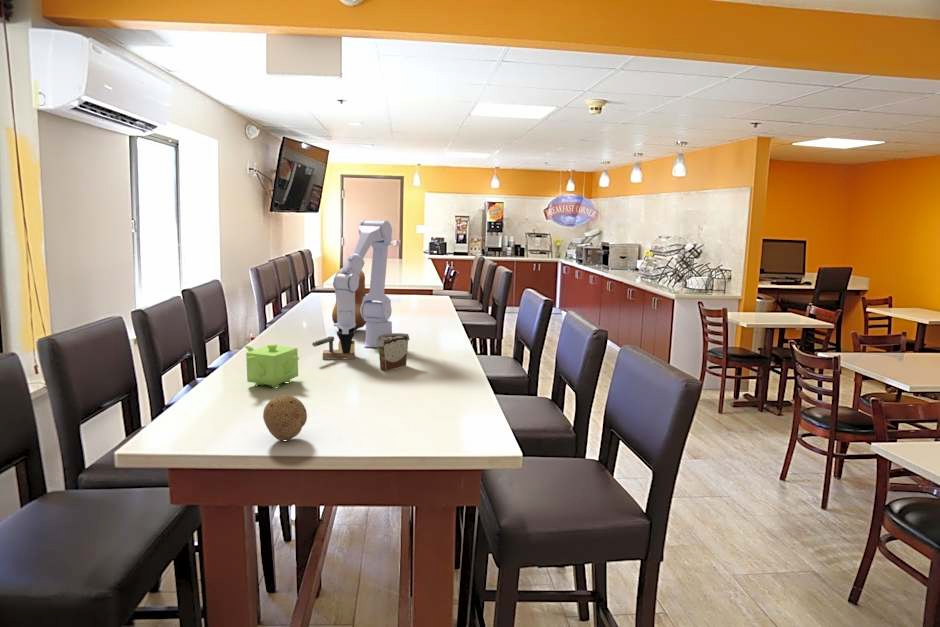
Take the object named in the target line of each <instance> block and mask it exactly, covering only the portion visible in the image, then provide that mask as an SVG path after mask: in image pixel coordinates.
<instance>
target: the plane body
mask: <svg viewBox="0 0 940 627" xmlns="http://www.w3.org/2000/svg"><path fill="white" fill-rule="evenodd" d="M355 351H356V350H355ZM355 351H354V353H349V354H343V353H338V349H334V341H331V342H328V349H324V350H323V352H322V358H327V359H326V360H332V359H331V358H355V359H356V354H355V353H356V352H355ZM322 358H321V359H322ZM328 358H330V359H328Z"/></svg>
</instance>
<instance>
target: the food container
mask: <svg viewBox="0 0 940 627" xmlns="http://www.w3.org/2000/svg"><path fill="white" fill-rule="evenodd" d="M409 341H410V335H409V333H402V332H401V333H399V332H397V333H395V332H394V333H393V332H392V333H390V334H383V335H380V336H378V338H377V342H376V345H378V347H377V348H378V355H379V357H378V358H379V366H380V367H379V368H380V371H382V372H387V373H388V372H390V371H393V370H397V369H400V368H404V367H407V359H408V347H409V346H408V345H409Z"/></svg>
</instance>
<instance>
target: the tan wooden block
mask: <svg viewBox="0 0 940 627" xmlns="http://www.w3.org/2000/svg"><path fill="white" fill-rule="evenodd" d="M355 341H356V340H352V342H351V349H350V353H354V351H356V350H355V349H356V348H355V344H356V342H355ZM337 344H338V346H337V347H338V349H337V350H338V353H343V352H342V347H341V342H340V340H339V341H338V343H337Z"/></svg>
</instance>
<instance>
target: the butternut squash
mask: <svg viewBox="0 0 940 627" xmlns="http://www.w3.org/2000/svg"><path fill="white" fill-rule="evenodd" d="M342 269H343V267H342V268H339V269H338V270H337V272H336V274H335V276H336V275H338V274H339V273H341V271H342ZM359 277H360V278H359V286H358V288H357V290H356V291H355V323H356V326H355V327H356V329H355V331H357V330H358V329H360V328H363V327H364V326H366V321H364V318H363V317H362V316H361V313H360V308H361V305H362V302H363V297H364V296H366V295H367V291H366V276H365V272H364V271H363V269H362V270H361V272H360V275H359ZM335 298H336V299H335V303H334V306H333V309H332V312H331V313H332V314H331V318H332V321H333V324H334V323H337V296H336V295H335ZM337 328H339V327H337Z"/></svg>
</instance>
